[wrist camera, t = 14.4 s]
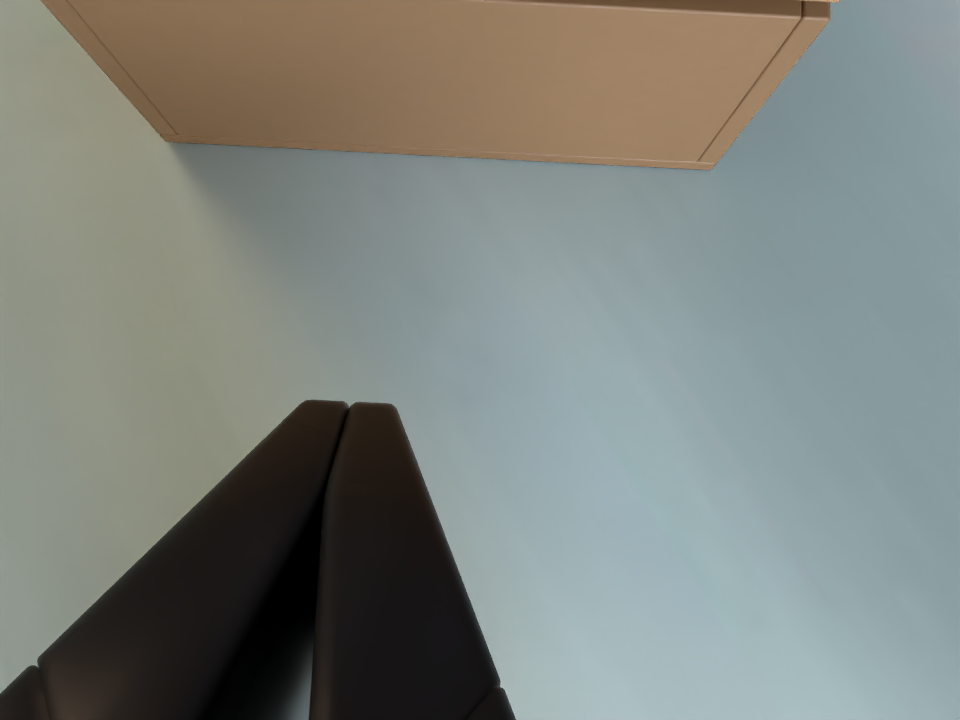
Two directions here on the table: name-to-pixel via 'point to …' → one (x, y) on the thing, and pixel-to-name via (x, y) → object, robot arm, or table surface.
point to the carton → (452, 73)
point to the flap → (823, 0)
